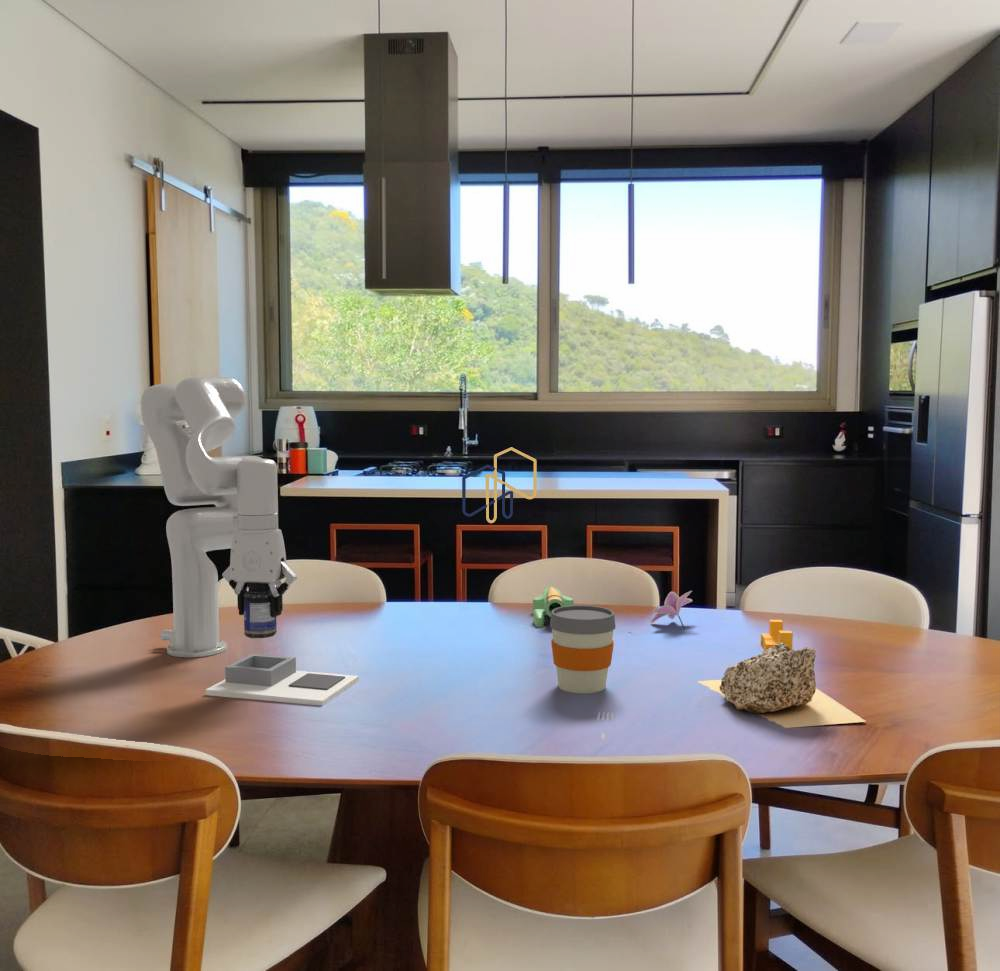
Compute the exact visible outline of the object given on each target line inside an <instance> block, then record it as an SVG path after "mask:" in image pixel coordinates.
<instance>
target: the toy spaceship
mask: <svg viewBox="0 0 1000 971" xmlns="http://www.w3.org/2000/svg"><path fill="white" fill-rule="evenodd" d="M574 603H575V602H574V599H573V598H572V597H569V596H566V595H564V594H562V591H561V590H559V589H558V588H556V587H553V586H549V587H547V588H545V589H544V590H543V592H542V594H541V595H539V596H536V597H534V598H533V599H532V618H533V619H532V622H533V625H534V626H535V627H536V628H543V627H544V625H545V619H546V617H545V616H548V617H550V618H551V612H552V610H553V609H555V608H559V607H564V606H575V604H574Z"/></svg>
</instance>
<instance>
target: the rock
mask: <svg viewBox="0 0 1000 971" xmlns="http://www.w3.org/2000/svg"><path fill="white" fill-rule="evenodd" d="M816 653H817V652H816V650H815V648H814V647H806V646H805V647H804V648H801V649H797V650H794V649H792V650H791V649H790V647H788V646H786V645H785V644H784V643H781V642H779V643H778V644H776V645H774V646H773V647H772V648H769V649H767V650H766V651H765V650H764V651H763V652H761V653H760V654H758V655H756V656H752V657H750V658H745V659H744V660H741V661H738V662H737V664H736V663H735V664H733V665H732V664H731V665H730V666H728V667H727V668H726V669H725V672H723V673H724V674H723V675H724V676H723V677H722V678H721V679H710V680H698V681H696V682H697V683H700V684H701V685H703V686H706V688H708V689H710V691H714V692H716V693H718V694H720V695H721V697H725V698H726V701H727V702H730V703H732V704H734V707H735V708H736V709H737V710H743V711H747V713H749V714H755V715H758V716H761V718H763V719H765V718H766V719H767V721H769V722H774V723H775V724H776V725H780V726H782V728H784V729H789V728H801V727H802V728H804V727H814V726H825V725H827V726H829V725H838V724H854V723H856V724H857V723H865V722H867V720H865V719H864V718H862V717H860V716H859V715H857V714H856V713H854V712H853V711H852V710H850V709H848V708H847V707H846V706H844V705H842V704H841V703H839V702H837V700H835V699H833V698H832V697H830V696H828V694H826V693H824V692H823V691H822V690H819V689H818V688H817V686H816V674H815V661H816V659H815V658H816V657H817V656H816ZM760 713H761V714H760Z"/></svg>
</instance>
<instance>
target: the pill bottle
mask: <svg viewBox="0 0 1000 971" xmlns="http://www.w3.org/2000/svg"><path fill="white" fill-rule="evenodd" d="M247 587H248V589H247V592H246V593H245V594H244V615H243V622H244V623H243V626H244V627H243V630H244V636H245V637H247V638H250V639H266V638H271V637H274V636H275V635H276V634H277V632H278V630H277V616H276V617H271V616H270V597H272V596H273V594H272V592H271V589H270V586H269V584H268V583H250V582H247Z"/></svg>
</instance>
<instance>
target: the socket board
mask: <svg viewBox="0 0 1000 971" xmlns="http://www.w3.org/2000/svg"><path fill="white" fill-rule="evenodd" d="M296 658H297V657H293V656H284V655H283V656H282V655H269V654H257V653H250V654H249V655H247V656H246V655H245V656H244V657H241V658H240V659H238V660H236V661H234V662H232V663H231V664H228V665H227V666H225V667H224V669H225V670H224V671H225V675H224V676H225V678H224V679H222V680H221V681H219V682H217V683H215V684H214V685H212V686H210V687H208V688H206V689H205V696H209V697H210V696H211V697H212V696H213V697H222V698H223V697H224V698H234V699H245V700H254V701H256V700H257V701H266V702H267V701H268V702H278V703H279V702H280V703H289V704H300V705H312V706H322V707H324V705H326V704H327V703H329V702H330V701H332V700H333V699H334V698H335V699H336V697H338V696H339V695H340V694H342V693H343V692H345V691H347V690H348V689H349V688H351V687H352V686H353V685H355V684H356V683H358V682H360V676H359V675H352V674H351V675H350V674H341V673H330V672H329V673H327V672H320V671H319V672H318V671H305V670H297V667H296V665H297V664H296V663H297V660H296Z"/></svg>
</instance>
